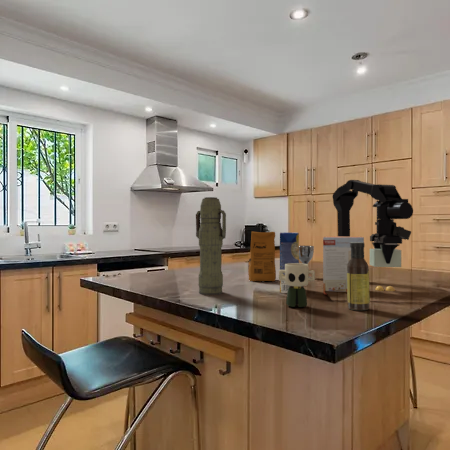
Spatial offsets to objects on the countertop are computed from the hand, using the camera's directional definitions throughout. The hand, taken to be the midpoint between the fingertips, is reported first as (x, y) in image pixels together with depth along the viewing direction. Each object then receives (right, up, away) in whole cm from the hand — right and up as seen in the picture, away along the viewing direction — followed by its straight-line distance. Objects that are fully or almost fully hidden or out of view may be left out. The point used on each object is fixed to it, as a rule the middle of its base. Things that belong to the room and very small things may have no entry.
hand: (384, 262), depth 137 cm
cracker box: (-15, -12, 0) cm, 19 cm away
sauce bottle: (-18, -12, -24) cm, 32 cm away
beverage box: (-33, -12, +7) cm, 36 cm away
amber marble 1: (-2, -10, 0) cm, 10 cm away
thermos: (-63, -12, +3) cm, 64 cm away
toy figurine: (-36, -12, -21) cm, 43 cm away
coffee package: (-41, -12, +33) cm, 54 cm away
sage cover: (0, -1, 0) cm, 1 cm away
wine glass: (-20, -12, +42) cm, 48 cm away
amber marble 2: (+2, -10, 0) cm, 10 cm away
